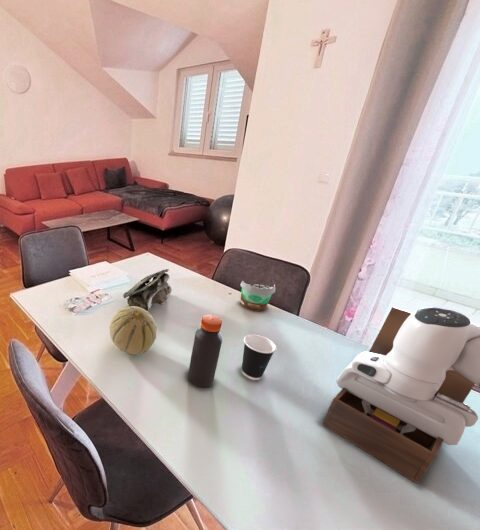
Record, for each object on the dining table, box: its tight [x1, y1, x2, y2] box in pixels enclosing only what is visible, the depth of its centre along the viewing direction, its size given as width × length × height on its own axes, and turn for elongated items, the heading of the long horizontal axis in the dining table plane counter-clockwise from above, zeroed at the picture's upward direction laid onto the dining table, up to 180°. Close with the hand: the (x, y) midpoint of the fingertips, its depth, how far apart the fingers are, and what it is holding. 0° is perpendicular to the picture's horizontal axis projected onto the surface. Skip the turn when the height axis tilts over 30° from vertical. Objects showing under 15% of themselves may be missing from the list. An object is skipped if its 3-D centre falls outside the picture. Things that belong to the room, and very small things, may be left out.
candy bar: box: [371, 408, 400, 430], centre depth 71 cm, size 4×11×4 cm, turn 124°
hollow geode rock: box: [122, 268, 173, 312], centre depth 124 cm, size 28×13×15 cm
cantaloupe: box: [109, 306, 157, 356], centre depth 98 cm, size 15×15×15 cm
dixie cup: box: [241, 334, 277, 381], centre depth 88 cm, size 8×8×11 cm
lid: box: [368, 306, 476, 403], centre depth 73 cm, size 17×17×5 cm
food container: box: [239, 280, 276, 312], centre depth 121 cm, size 12×6×10 cm, turn 73°
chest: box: [321, 388, 444, 485], centre depth 71 cm, size 17×17×8 cm
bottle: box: [187, 314, 223, 388], centre depth 84 cm, size 7×7×20 cm
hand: (381, 424), depth 72 cm, fingers closed on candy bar, 4 cm apart
